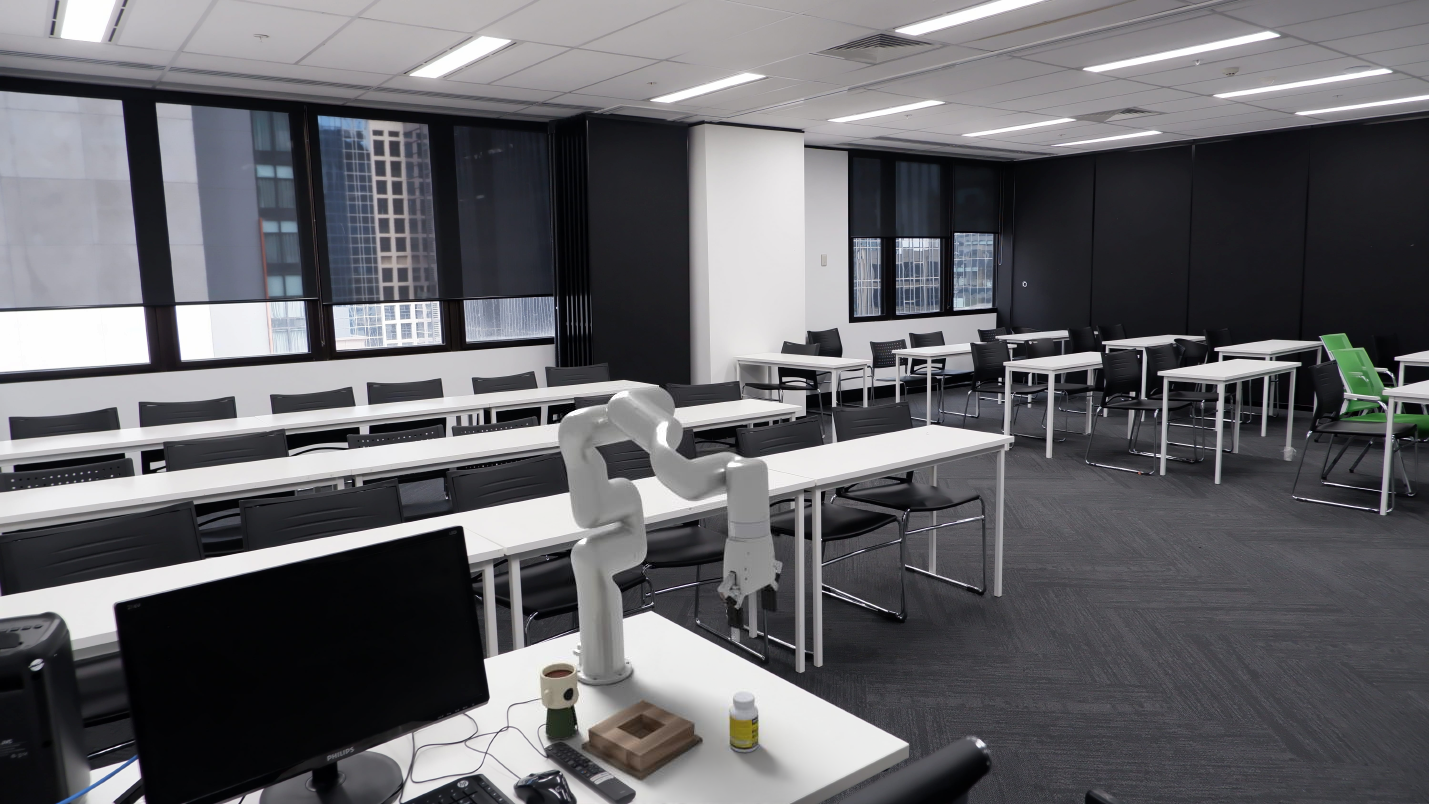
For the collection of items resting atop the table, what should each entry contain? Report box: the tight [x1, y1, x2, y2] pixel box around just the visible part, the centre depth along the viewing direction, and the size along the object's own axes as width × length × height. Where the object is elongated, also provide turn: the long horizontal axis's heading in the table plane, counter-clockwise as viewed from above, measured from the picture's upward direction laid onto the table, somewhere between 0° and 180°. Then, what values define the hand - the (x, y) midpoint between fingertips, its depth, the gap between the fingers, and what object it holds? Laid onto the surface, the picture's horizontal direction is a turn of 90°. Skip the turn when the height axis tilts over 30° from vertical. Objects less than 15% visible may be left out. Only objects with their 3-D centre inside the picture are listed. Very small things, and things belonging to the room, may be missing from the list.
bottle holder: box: [581, 699, 703, 781], centre depth 161 cm, size 16×16×4 cm
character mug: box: [539, 662, 580, 740], centre depth 165 cm, size 11×7×13 cm, turn 163°
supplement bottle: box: [728, 691, 760, 753], centre depth 159 cm, size 5×5×10 cm
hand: (753, 618), depth 156 cm, fingers open, 9 cm apart
